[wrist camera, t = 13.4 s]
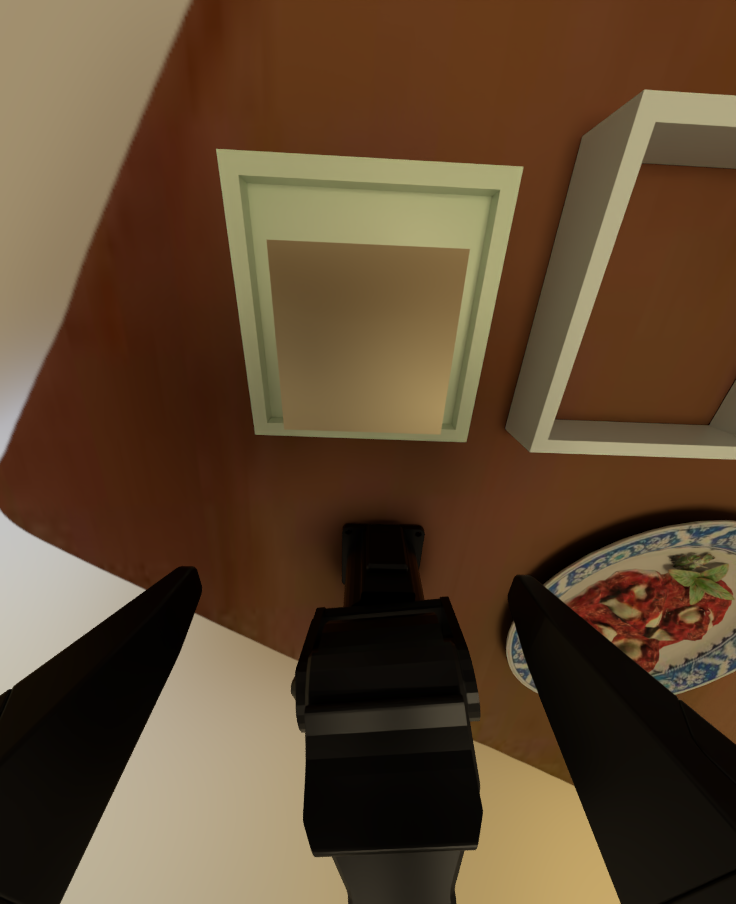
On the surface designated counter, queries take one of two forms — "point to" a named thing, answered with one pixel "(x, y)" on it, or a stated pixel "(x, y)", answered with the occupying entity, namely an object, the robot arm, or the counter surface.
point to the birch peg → (365, 334)
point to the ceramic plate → (657, 602)
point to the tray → (365, 222)
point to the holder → (585, 260)
